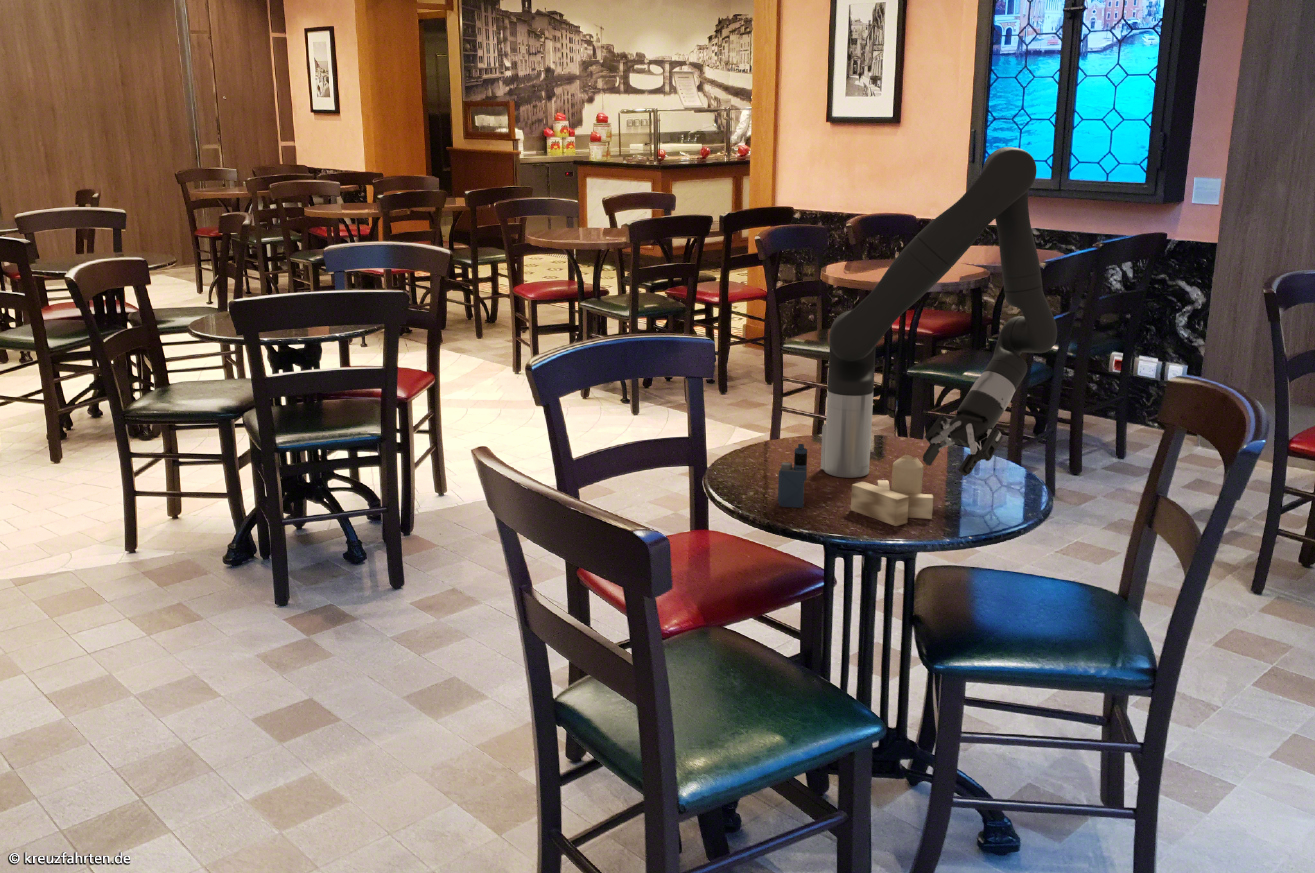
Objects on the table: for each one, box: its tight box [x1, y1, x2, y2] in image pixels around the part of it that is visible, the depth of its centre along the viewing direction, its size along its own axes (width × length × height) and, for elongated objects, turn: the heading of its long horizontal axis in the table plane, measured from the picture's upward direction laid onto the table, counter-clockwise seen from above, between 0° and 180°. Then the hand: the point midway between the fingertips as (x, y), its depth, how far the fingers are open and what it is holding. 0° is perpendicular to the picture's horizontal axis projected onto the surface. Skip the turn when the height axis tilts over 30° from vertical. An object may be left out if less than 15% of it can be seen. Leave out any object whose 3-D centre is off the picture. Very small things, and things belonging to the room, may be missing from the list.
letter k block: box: [850, 479, 934, 527], centre depth 201 cm, size 13×10×5 cm
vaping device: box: [777, 443, 808, 509], centre depth 204 cm, size 3×5×12 cm, turn 78°
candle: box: [890, 454, 924, 494], centre depth 203 cm, size 6×6×10 cm
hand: (943, 468), depth 206 cm, fingers open, 8 cm apart
